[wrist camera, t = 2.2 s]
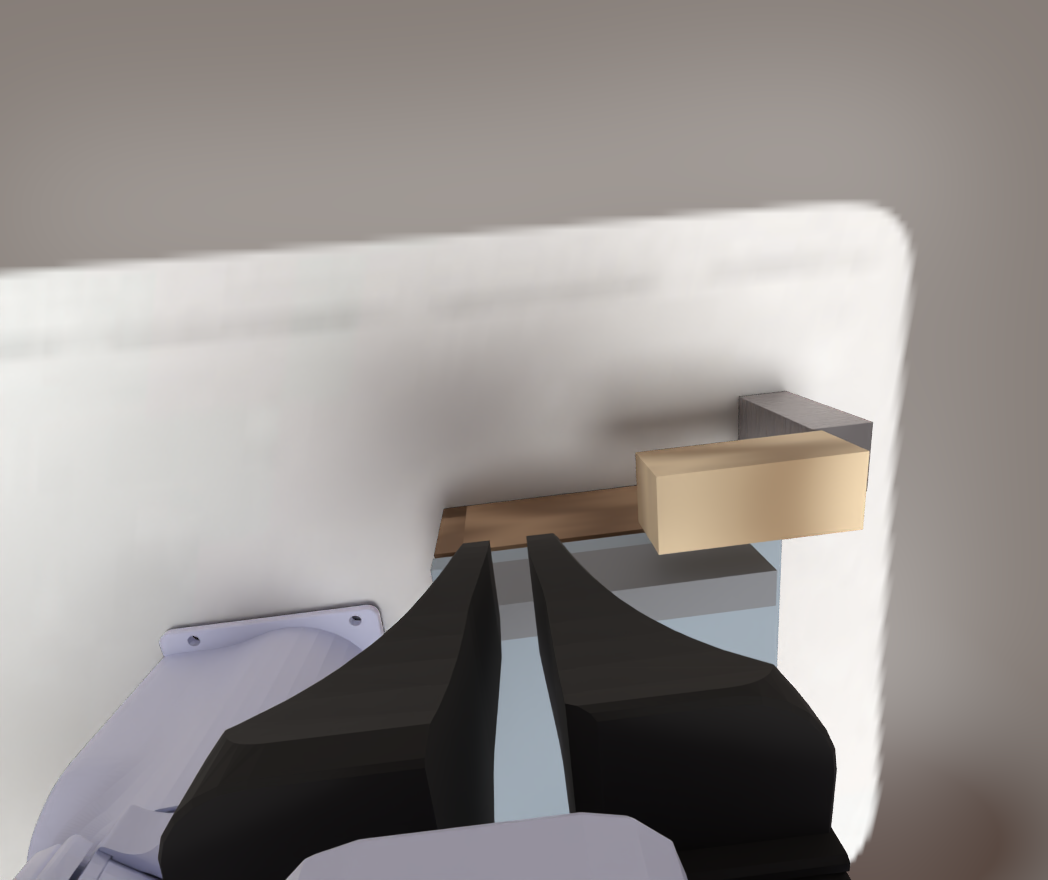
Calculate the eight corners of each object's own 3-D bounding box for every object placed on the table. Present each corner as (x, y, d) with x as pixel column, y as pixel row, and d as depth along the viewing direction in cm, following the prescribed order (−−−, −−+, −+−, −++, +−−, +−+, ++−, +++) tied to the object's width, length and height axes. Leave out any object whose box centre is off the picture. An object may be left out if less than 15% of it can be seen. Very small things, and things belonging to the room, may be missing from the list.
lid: (489, 885, 23) (489, 1016, 19) (433, 558, 18) (416, 637, 14) (759, 847, 23) (817, 968, 19) (770, 517, 19) (849, 582, 15)
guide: (738, 451, 23) (808, 498, 18) (739, 396, 22) (812, 429, 17) (784, 445, 23) (867, 491, 18) (786, 391, 22) (872, 422, 17)
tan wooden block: (638, 521, 17) (659, 554, 15) (635, 452, 17) (656, 476, 14) (817, 499, 17) (862, 529, 15) (822, 430, 17) (869, 451, 15)
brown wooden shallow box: (489, 794, 27) (489, 878, 23) (443, 508, 23) (434, 554, 19) (719, 763, 27) (756, 840, 24) (720, 475, 23) (766, 513, 19)
